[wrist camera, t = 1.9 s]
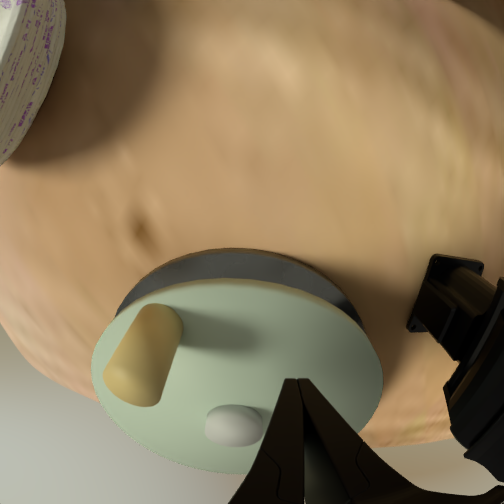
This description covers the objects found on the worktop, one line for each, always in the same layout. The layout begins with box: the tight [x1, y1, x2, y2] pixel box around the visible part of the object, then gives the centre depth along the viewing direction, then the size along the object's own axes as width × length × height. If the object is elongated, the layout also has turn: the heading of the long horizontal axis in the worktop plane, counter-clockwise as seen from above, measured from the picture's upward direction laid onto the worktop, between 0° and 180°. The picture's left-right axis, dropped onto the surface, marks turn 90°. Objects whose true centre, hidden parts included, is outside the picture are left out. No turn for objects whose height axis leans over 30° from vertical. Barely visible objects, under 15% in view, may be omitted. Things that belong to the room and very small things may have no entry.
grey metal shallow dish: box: [115, 248, 366, 334], centre depth 19 cm, size 20×20×4 cm
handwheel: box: [91, 278, 383, 474], centre depth 14 cm, size 20×20×6 cm
